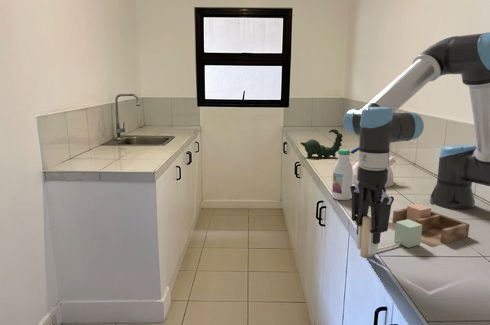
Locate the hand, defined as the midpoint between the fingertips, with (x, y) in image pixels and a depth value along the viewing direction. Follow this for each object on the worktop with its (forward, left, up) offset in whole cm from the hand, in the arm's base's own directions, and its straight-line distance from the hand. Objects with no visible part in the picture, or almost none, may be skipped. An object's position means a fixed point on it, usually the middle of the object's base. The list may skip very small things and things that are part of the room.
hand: (367, 250), depth 103 cm
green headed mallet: (-8, 0, -2) cm, 8 cm away
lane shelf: (-28, -4, -2) cm, 28 cm away
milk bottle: (-29, -44, -2) cm, 53 cm away
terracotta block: (-31, -9, -1) cm, 32 cm away
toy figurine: (-72, -114, -2) cm, 135 cm away
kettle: (-58, -57, -2) cm, 81 cm away
